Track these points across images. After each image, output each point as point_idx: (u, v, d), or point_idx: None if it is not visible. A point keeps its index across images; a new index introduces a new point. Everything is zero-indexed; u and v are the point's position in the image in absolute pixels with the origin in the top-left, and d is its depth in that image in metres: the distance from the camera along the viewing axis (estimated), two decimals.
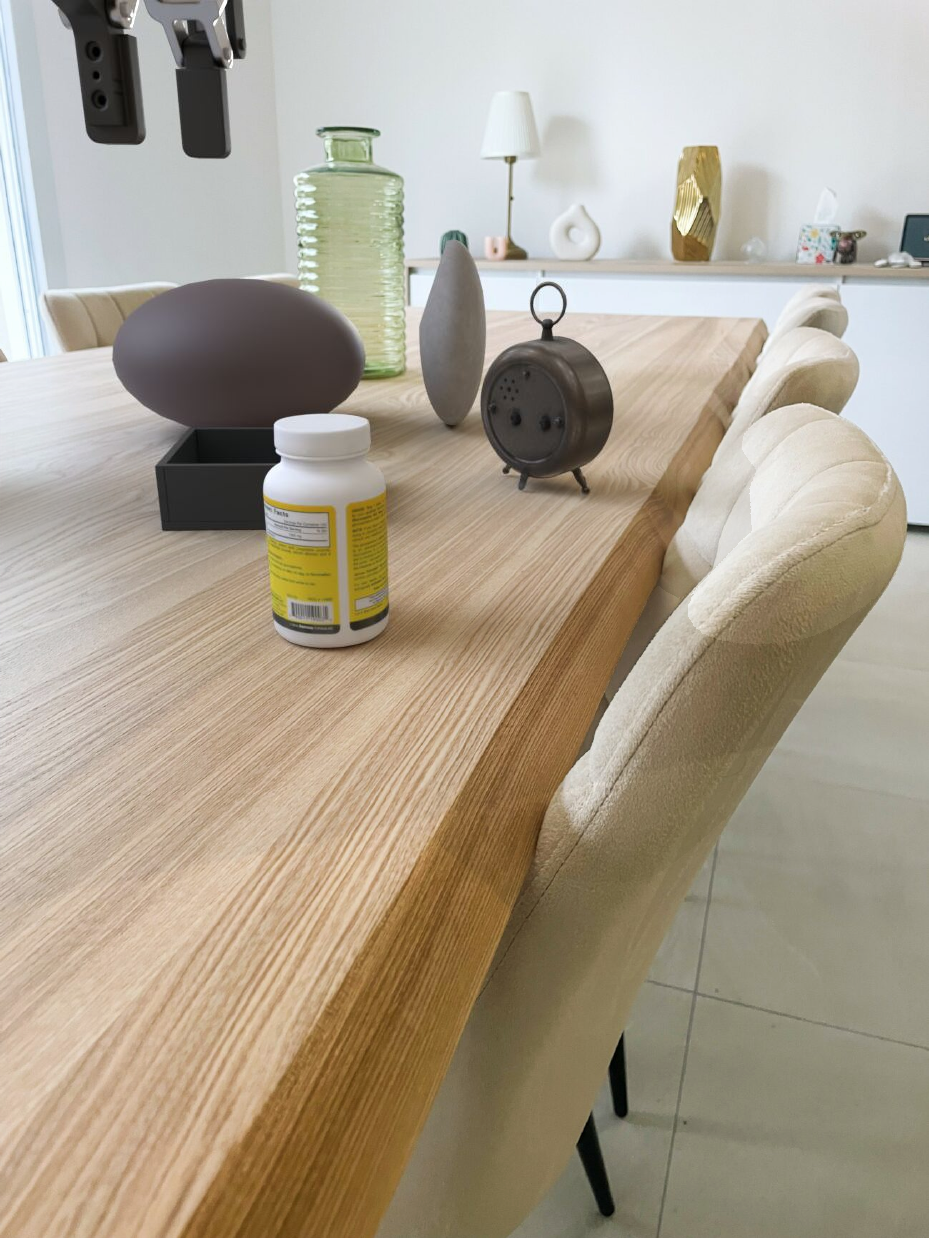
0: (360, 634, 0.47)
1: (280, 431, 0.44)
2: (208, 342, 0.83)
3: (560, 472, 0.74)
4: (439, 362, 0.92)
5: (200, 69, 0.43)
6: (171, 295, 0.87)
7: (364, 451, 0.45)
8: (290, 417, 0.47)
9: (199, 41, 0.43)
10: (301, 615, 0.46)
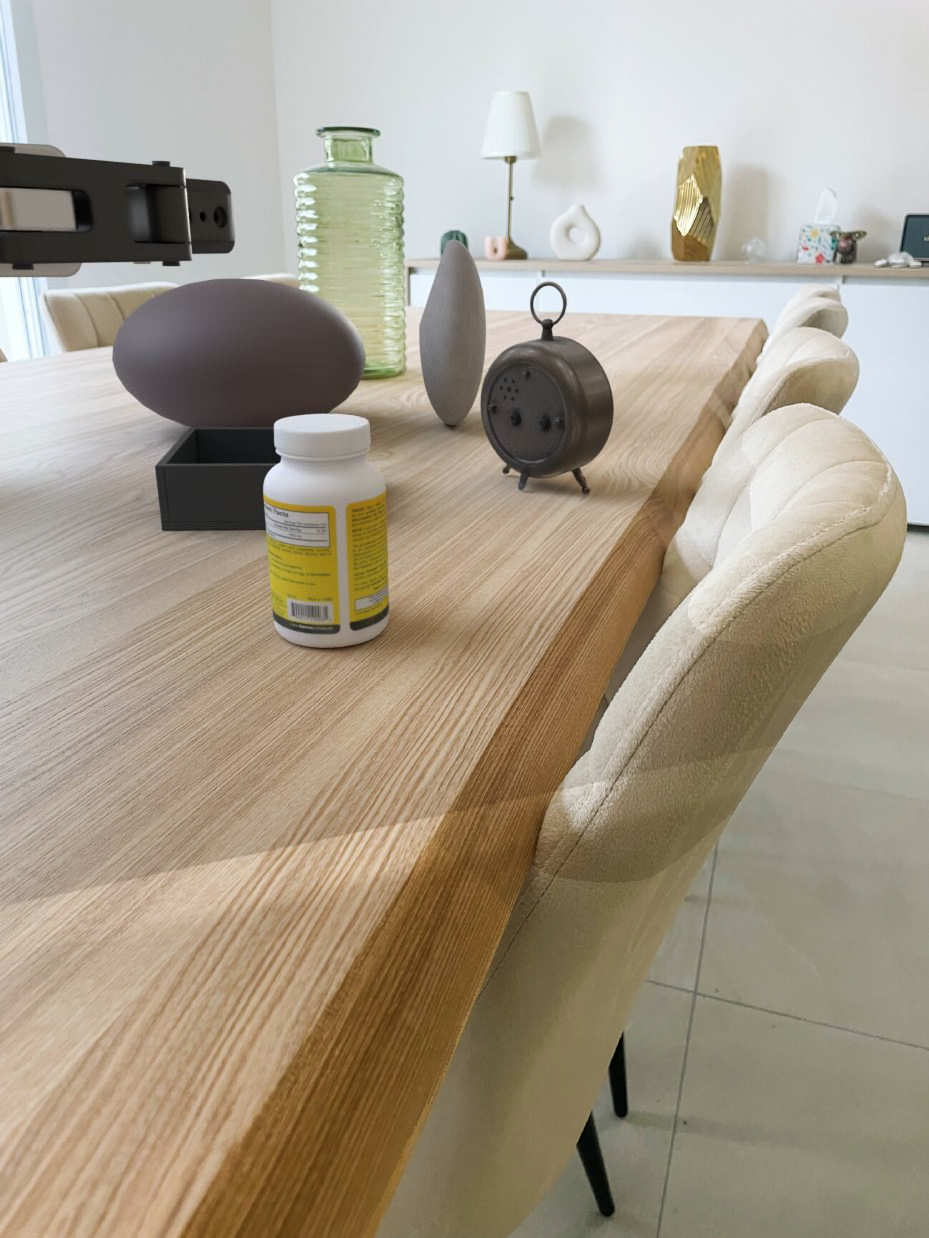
0: (360, 634, 0.47)
1: (280, 431, 0.44)
2: (208, 342, 0.83)
3: (560, 472, 0.74)
4: (439, 362, 0.92)
5: None
6: (171, 295, 0.87)
7: (364, 451, 0.45)
8: (290, 417, 0.47)
9: None
10: (301, 615, 0.46)
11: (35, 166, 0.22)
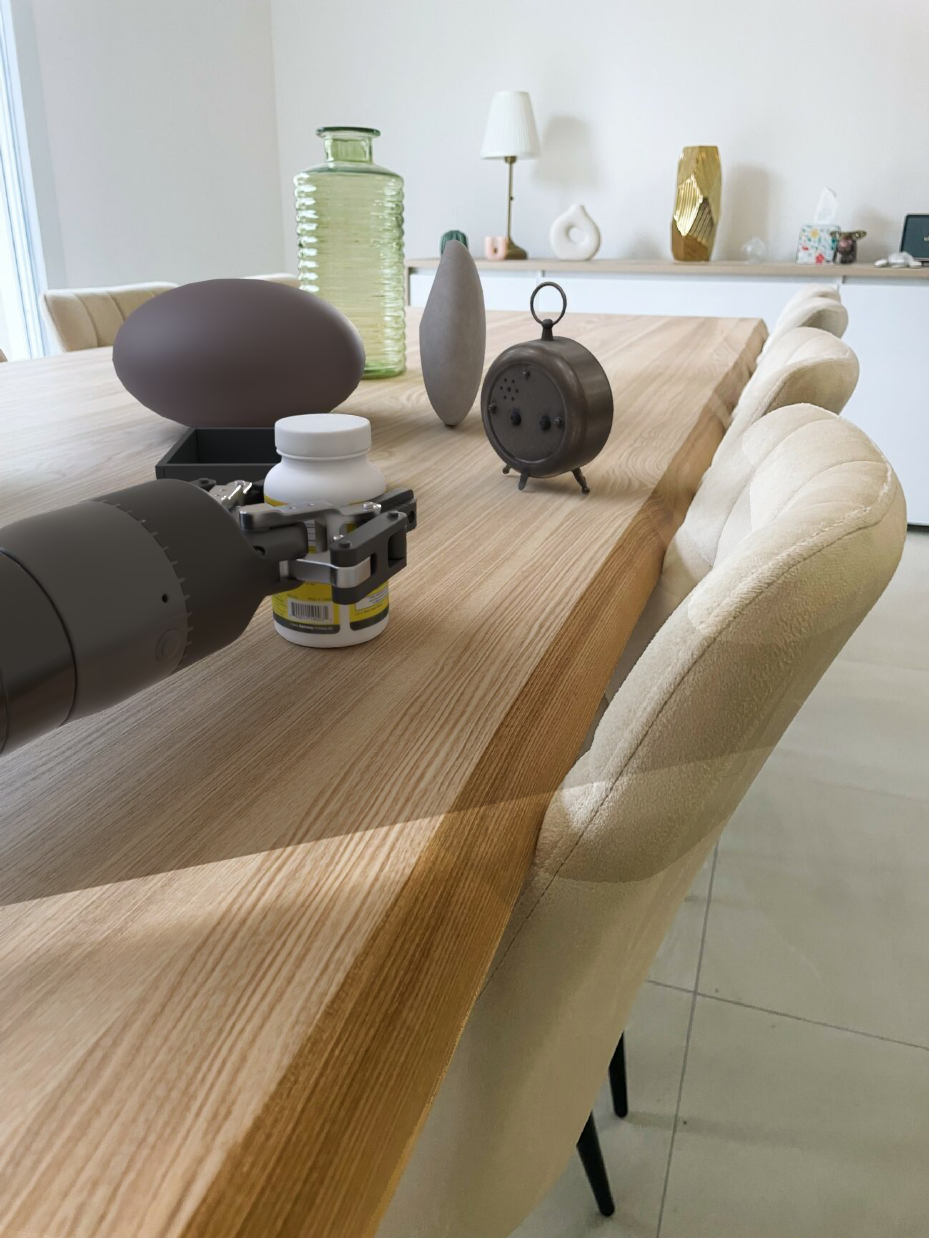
0: (360, 634, 0.47)
1: (280, 431, 0.44)
2: (208, 342, 0.83)
3: (560, 472, 0.74)
4: (439, 362, 0.92)
5: None
6: (171, 295, 0.87)
7: (365, 451, 0.45)
8: (291, 417, 0.47)
9: None
10: (301, 615, 0.46)
11: (361, 551, 0.38)
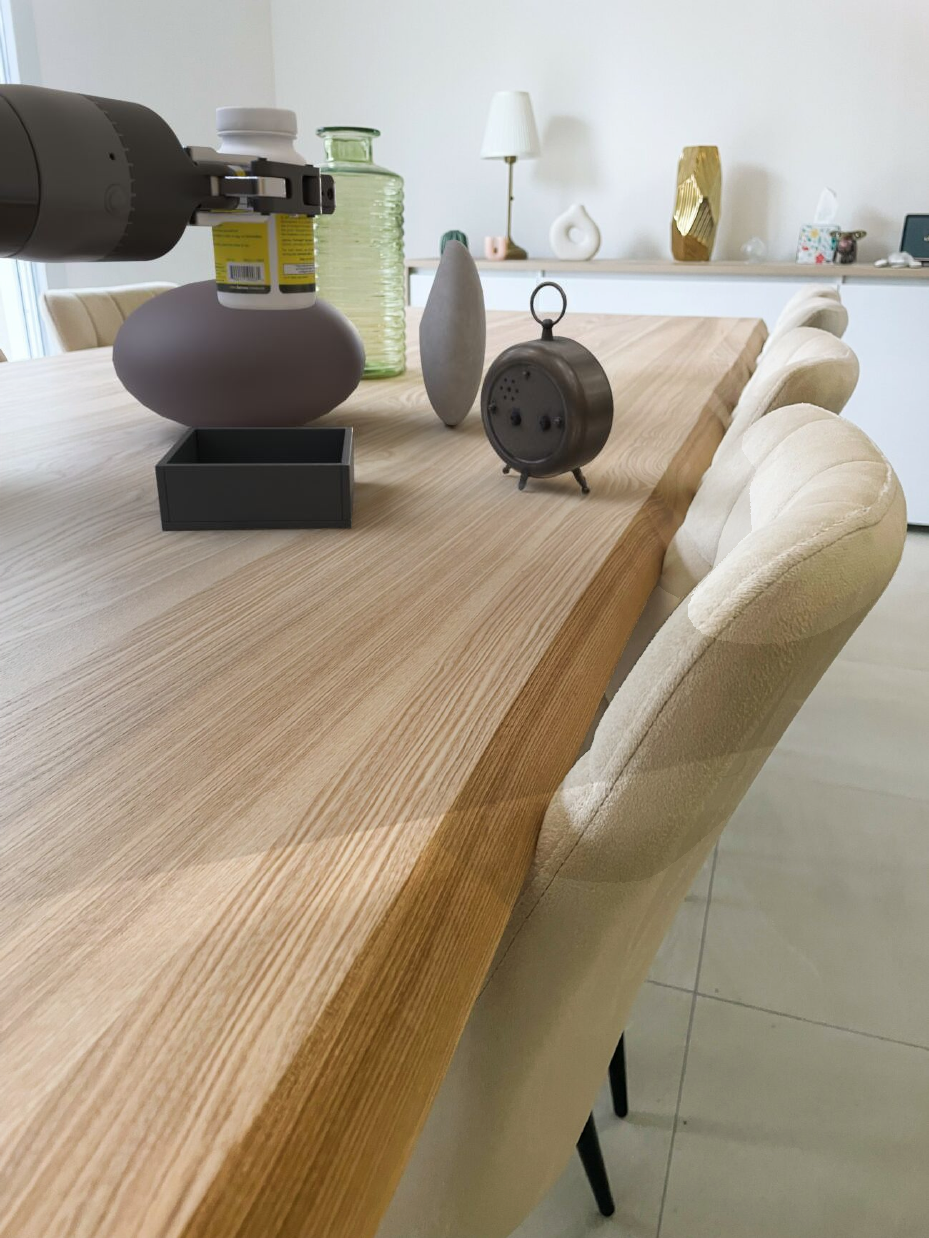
0: (288, 298, 0.56)
1: (219, 110, 0.53)
2: (208, 342, 0.83)
3: (560, 472, 0.74)
4: (439, 362, 0.92)
5: None
6: (171, 295, 0.87)
7: (291, 134, 0.55)
8: None
9: None
10: (238, 276, 0.56)
11: (276, 167, 0.48)
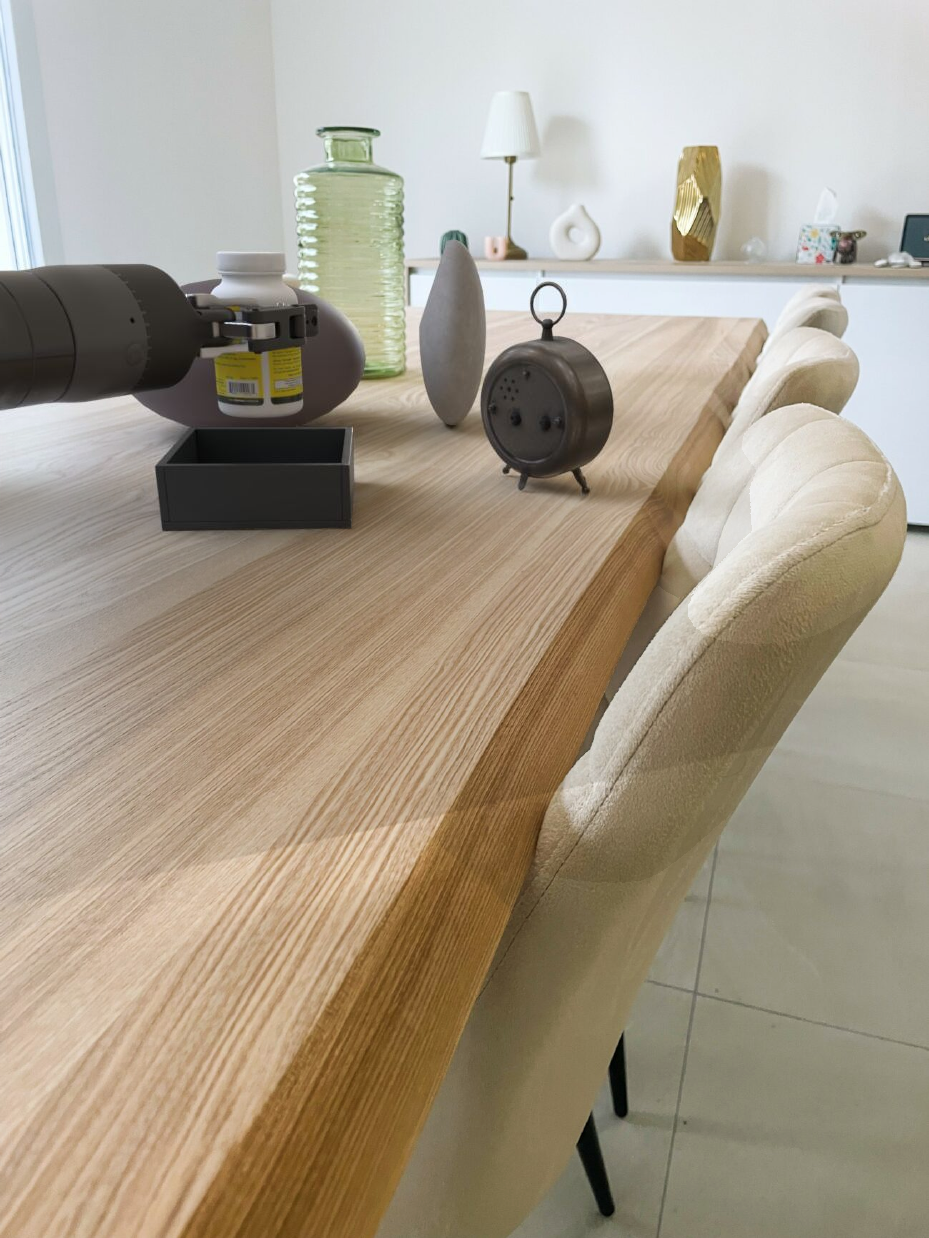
0: (278, 408, 0.66)
1: (220, 254, 0.63)
2: None
3: (560, 472, 0.74)
4: (439, 362, 0.92)
5: None
6: None
7: (280, 272, 0.64)
8: None
9: None
10: (236, 391, 0.65)
11: (267, 315, 0.57)
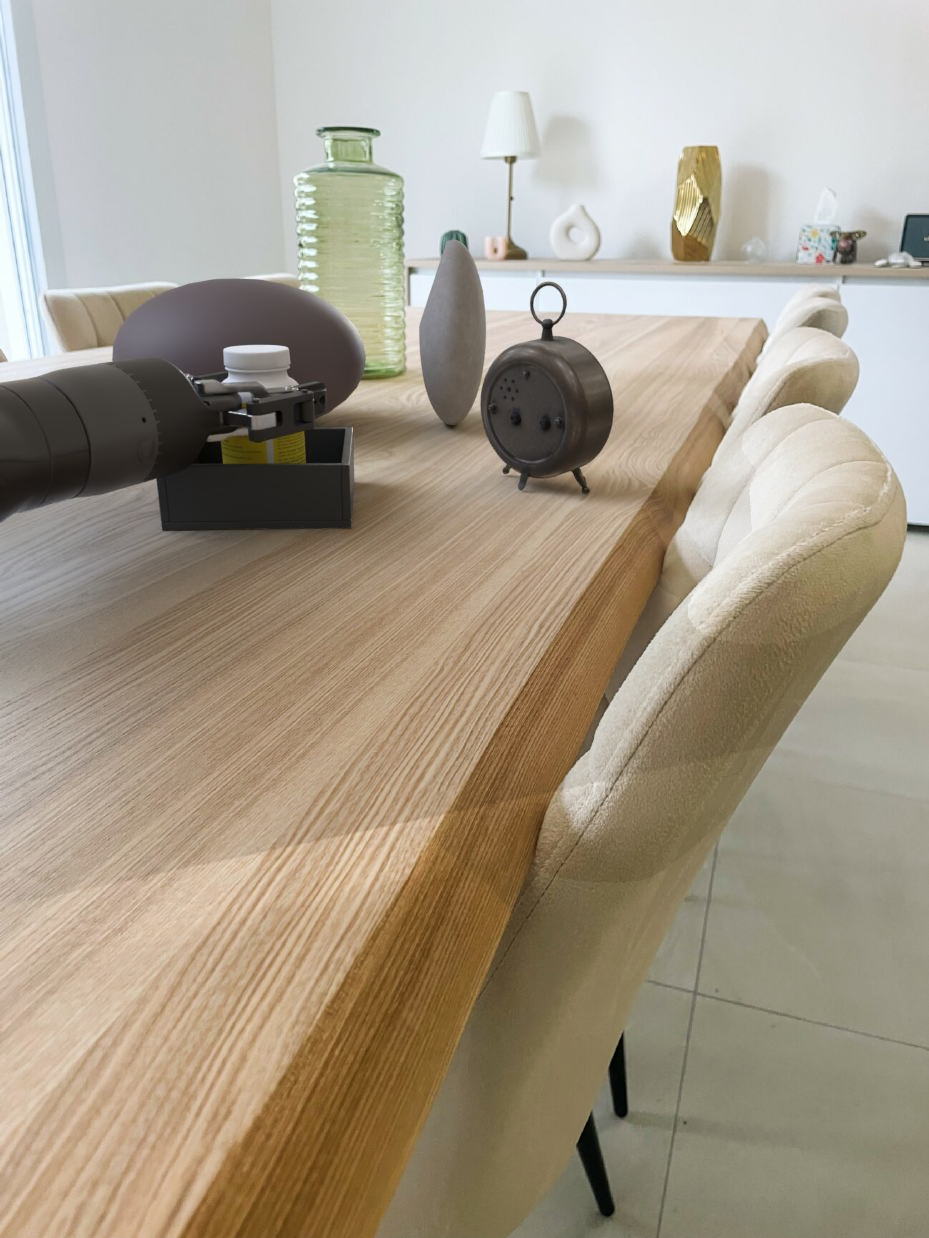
0: None
1: (226, 353, 0.66)
2: (208, 342, 0.83)
3: (560, 472, 0.74)
4: (439, 362, 0.92)
5: None
6: (171, 295, 0.87)
7: (284, 368, 0.67)
8: (235, 346, 0.68)
9: None
10: None
11: (266, 406, 0.59)
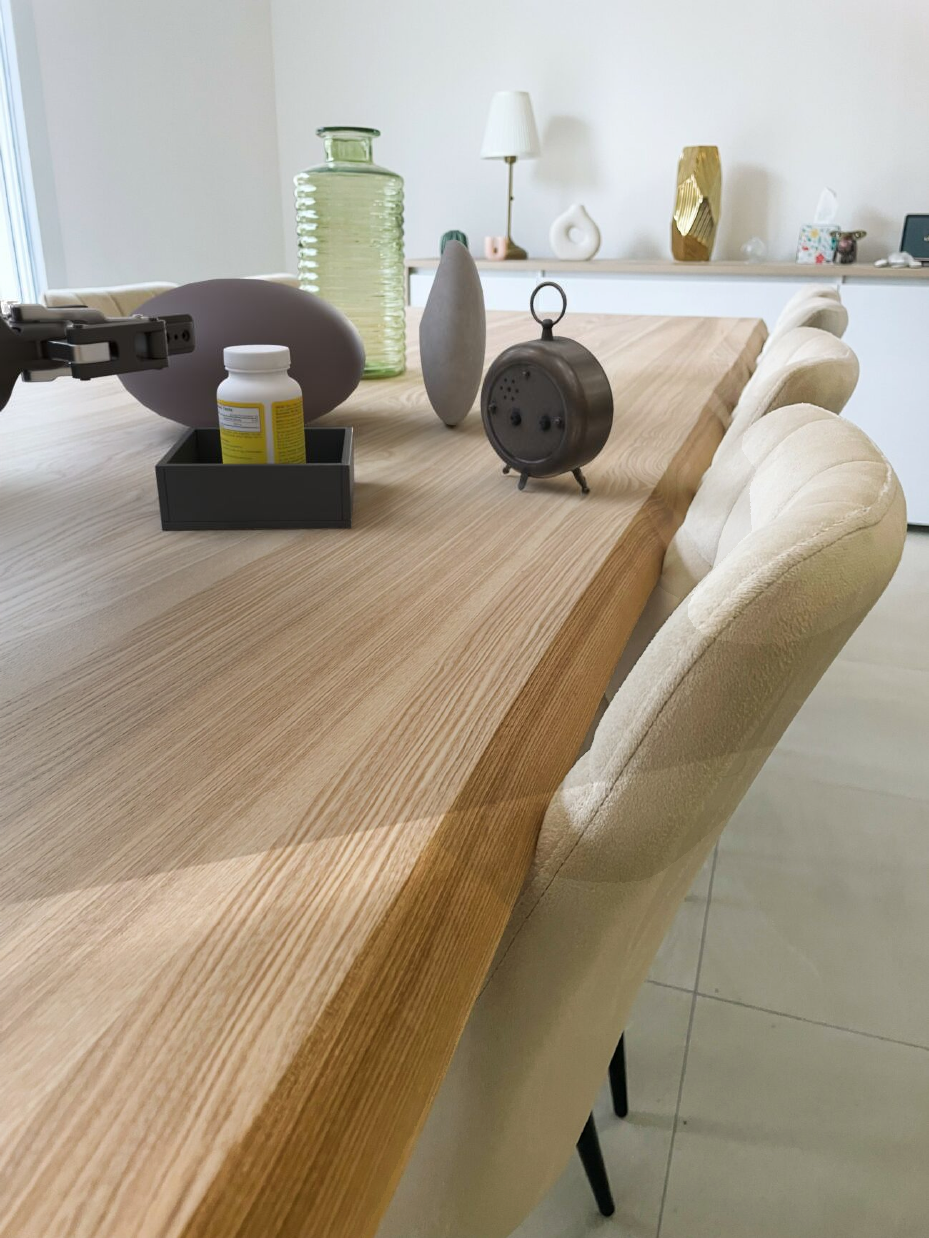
0: None
1: (226, 353, 0.66)
2: (208, 342, 0.83)
3: (560, 472, 0.74)
4: (439, 362, 0.92)
5: None
6: (171, 295, 0.87)
7: (285, 368, 0.67)
8: (236, 346, 0.68)
9: None
10: None
11: (92, 333, 0.46)
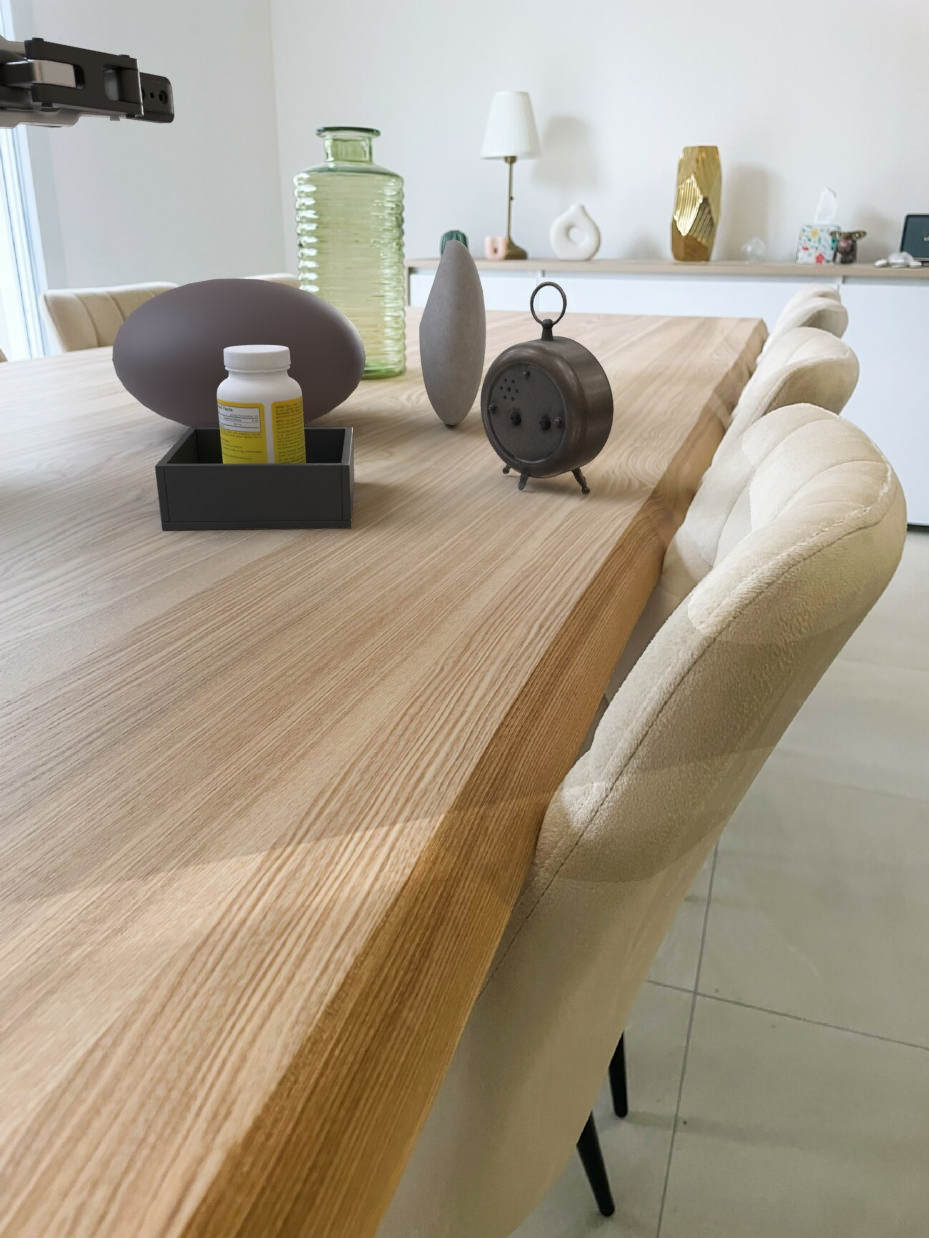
0: None
1: (226, 353, 0.66)
2: (208, 342, 0.83)
3: (560, 472, 0.74)
4: (439, 362, 0.92)
5: None
6: (171, 295, 0.87)
7: (285, 368, 0.67)
8: (236, 346, 0.68)
9: None
10: None
11: (54, 49, 0.41)
